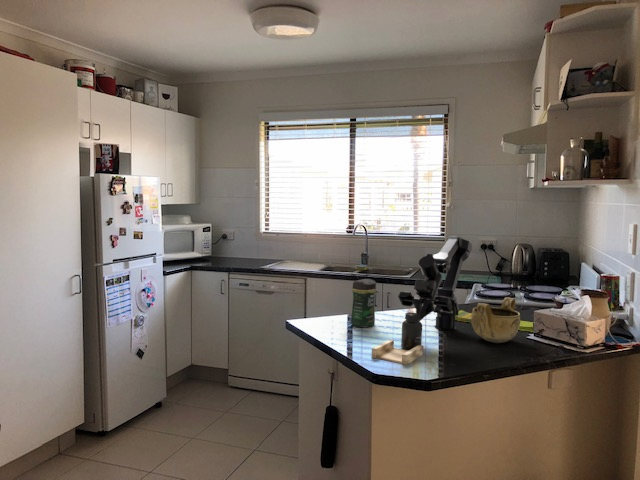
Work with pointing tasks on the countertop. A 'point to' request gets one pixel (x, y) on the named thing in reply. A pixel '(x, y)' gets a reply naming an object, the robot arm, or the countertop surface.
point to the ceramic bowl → (496, 321)
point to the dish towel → (467, 318)
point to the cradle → (396, 353)
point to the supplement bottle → (411, 331)
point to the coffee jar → (363, 303)
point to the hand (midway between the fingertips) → (417, 320)
